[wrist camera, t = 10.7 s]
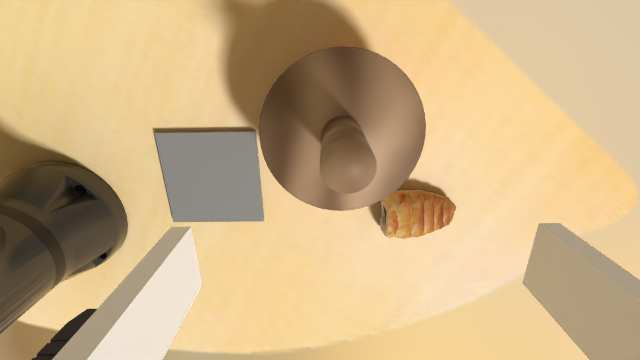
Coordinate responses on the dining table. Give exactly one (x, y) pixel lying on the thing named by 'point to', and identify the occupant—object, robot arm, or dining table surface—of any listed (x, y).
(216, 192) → the mat
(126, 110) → the dining table surface
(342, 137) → the lid
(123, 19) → the dining table surface
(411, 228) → the pastry
